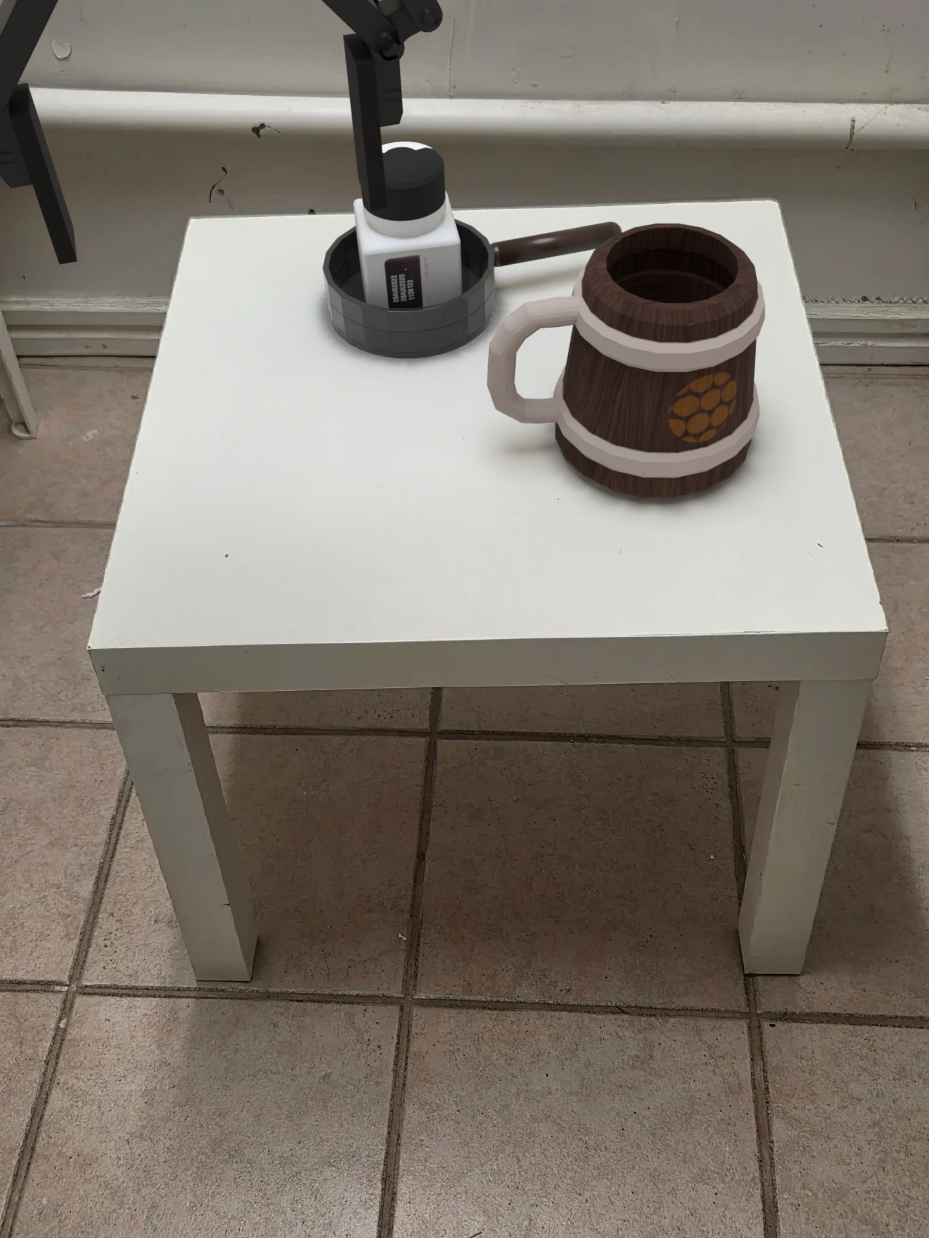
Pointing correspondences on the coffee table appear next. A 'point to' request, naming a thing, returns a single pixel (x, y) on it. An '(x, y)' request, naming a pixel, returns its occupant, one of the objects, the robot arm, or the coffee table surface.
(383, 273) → the container
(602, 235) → the pan handle
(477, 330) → the pan
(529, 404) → the mug
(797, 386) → the coffee table surface
